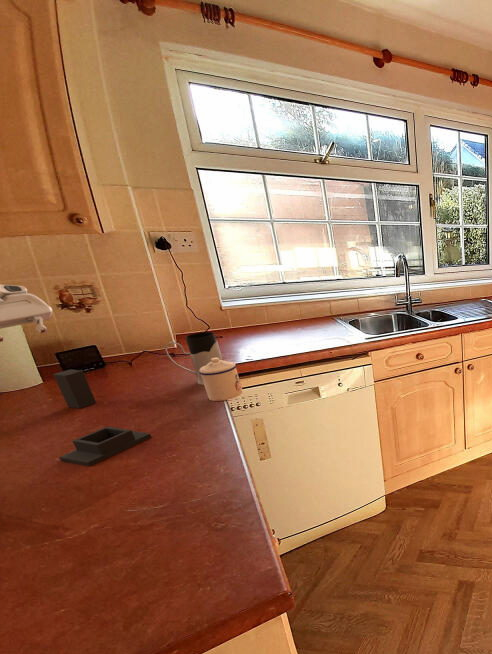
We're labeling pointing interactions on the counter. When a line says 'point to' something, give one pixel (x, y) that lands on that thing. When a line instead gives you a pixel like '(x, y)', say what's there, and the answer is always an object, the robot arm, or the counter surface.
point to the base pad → (103, 445)
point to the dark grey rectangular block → (75, 388)
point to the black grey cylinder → (200, 351)
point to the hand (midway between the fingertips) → (22, 335)
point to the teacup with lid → (221, 380)
